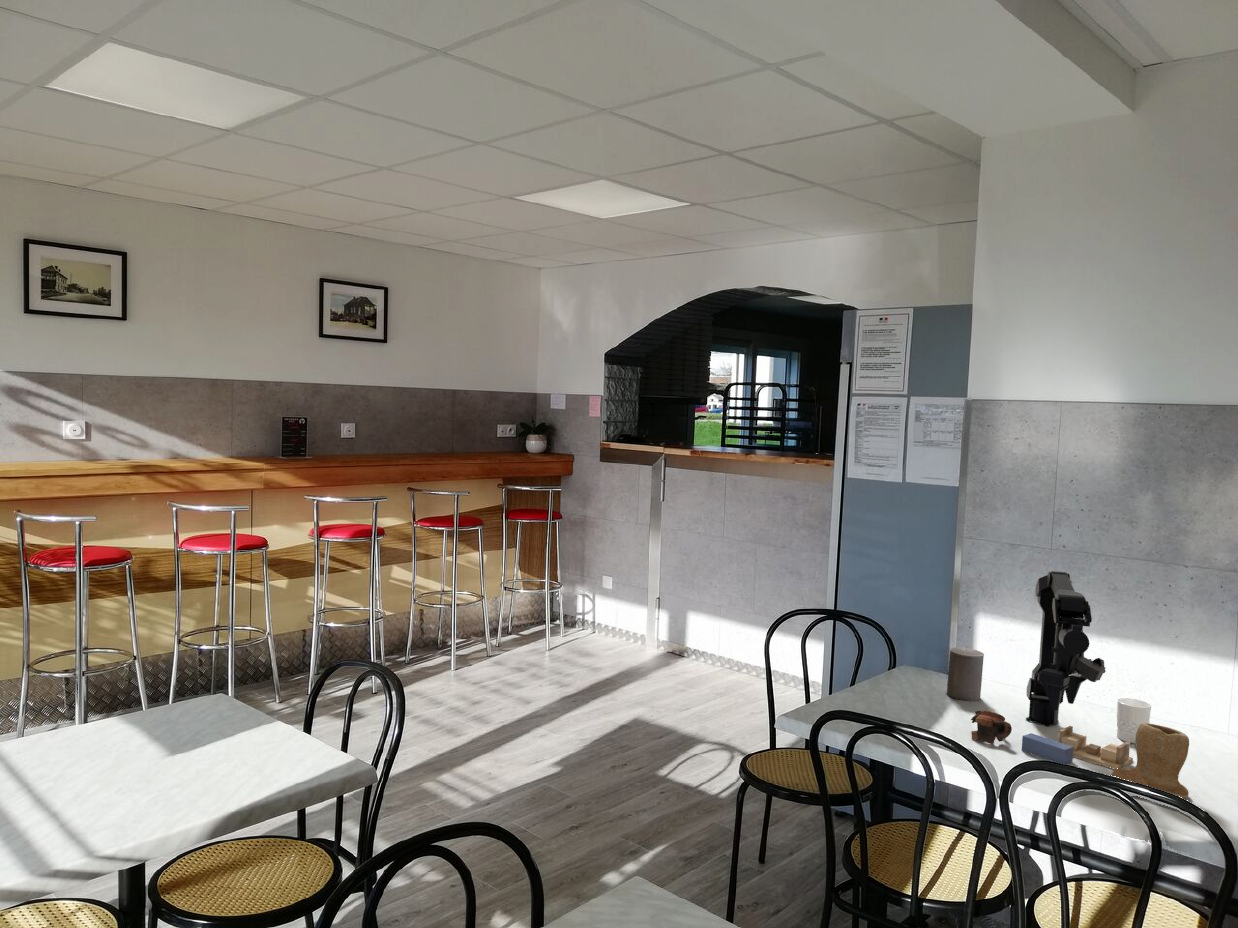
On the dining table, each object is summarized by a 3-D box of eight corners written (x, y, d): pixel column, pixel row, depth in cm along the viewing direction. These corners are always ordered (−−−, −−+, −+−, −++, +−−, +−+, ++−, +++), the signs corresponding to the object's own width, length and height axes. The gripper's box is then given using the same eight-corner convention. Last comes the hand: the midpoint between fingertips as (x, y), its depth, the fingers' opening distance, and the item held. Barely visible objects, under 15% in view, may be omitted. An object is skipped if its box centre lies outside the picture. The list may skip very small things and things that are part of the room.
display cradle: (1116, 769, 223) (1117, 749, 222) (1053, 750, 234) (1055, 731, 234) (1132, 760, 229) (1134, 741, 229) (1070, 742, 240) (1072, 724, 240)
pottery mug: (959, 738, 242) (964, 707, 245) (983, 750, 246) (987, 719, 249) (999, 741, 232) (1003, 709, 235) (1022, 753, 236) (1027, 721, 239)
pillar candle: (941, 695, 277) (945, 646, 276) (953, 688, 285) (957, 641, 284) (973, 703, 271) (977, 653, 270) (985, 696, 279) (989, 647, 277)
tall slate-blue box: (1021, 751, 234) (1022, 735, 233) (1030, 748, 236) (1031, 732, 236) (1063, 765, 225) (1065, 749, 224) (1072, 762, 227) (1073, 746, 227)
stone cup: (1190, 790, 212) (1195, 726, 211) (1186, 807, 202) (1191, 740, 201) (1116, 773, 221) (1121, 711, 220) (1108, 788, 211) (1113, 724, 210)
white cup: (1153, 746, 241) (1155, 708, 240) (1120, 742, 242) (1123, 705, 241) (1142, 736, 248) (1145, 699, 248) (1110, 732, 250) (1113, 696, 249)
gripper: (1086, 657, 217) (1081, 722, 218) (1116, 646, 229) (1111, 708, 230) (1038, 647, 225) (1034, 710, 226) (1070, 637, 238) (1065, 697, 238)
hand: (1063, 706), depth 230 cm, fingers open, 9 cm apart
